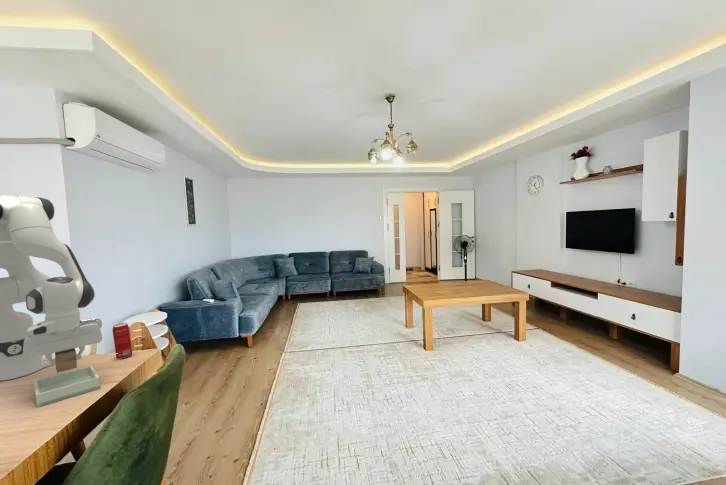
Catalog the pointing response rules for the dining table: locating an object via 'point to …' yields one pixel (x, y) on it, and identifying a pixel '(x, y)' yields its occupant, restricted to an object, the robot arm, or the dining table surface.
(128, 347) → the beverage can
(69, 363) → the walnut block
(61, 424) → the dining table surface
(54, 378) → the bin
